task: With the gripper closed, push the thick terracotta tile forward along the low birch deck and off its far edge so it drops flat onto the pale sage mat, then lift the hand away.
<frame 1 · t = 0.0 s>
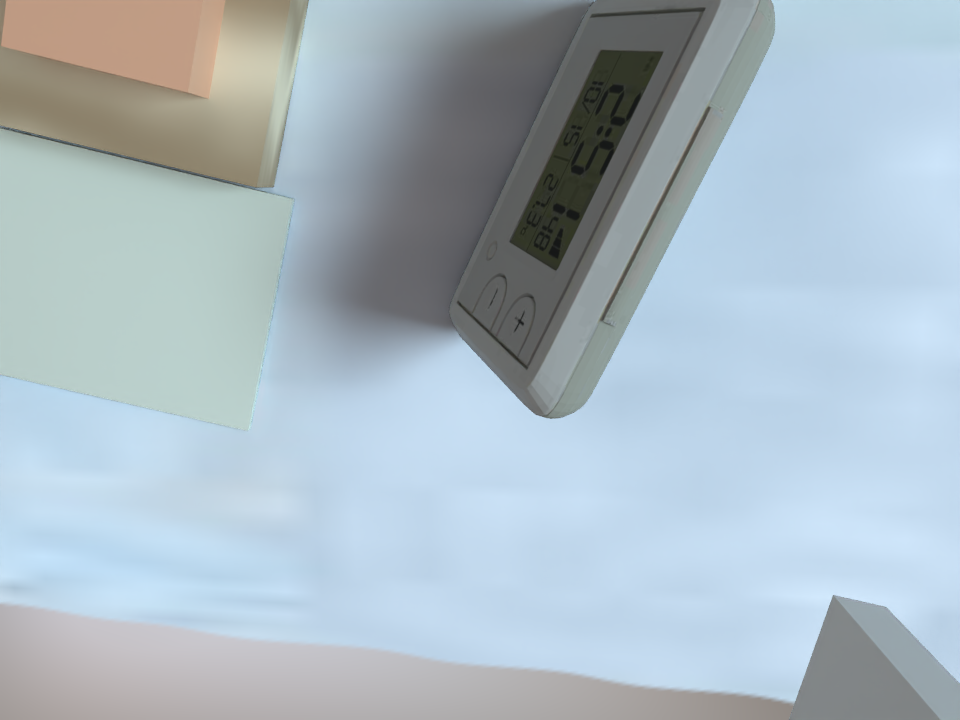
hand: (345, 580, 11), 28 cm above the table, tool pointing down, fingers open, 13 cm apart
digital clock: (571, 189, 38), on the table
sage mat: (121, 281, 39), on the table
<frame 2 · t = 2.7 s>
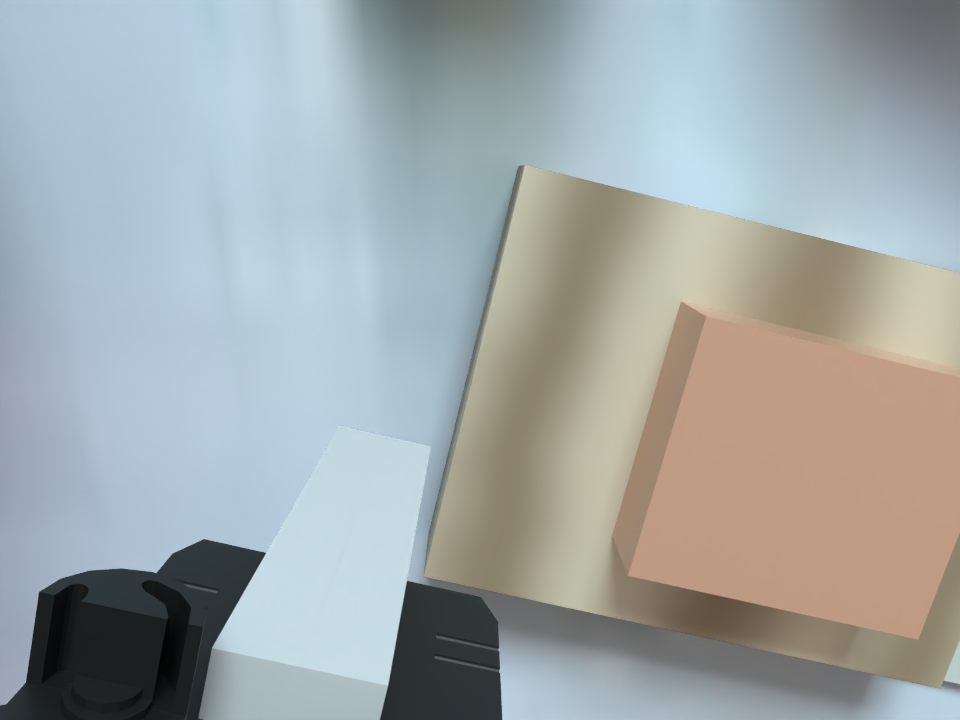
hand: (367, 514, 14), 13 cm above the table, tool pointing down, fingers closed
terracotta tile: (781, 453, 24), point 3 cm above the table, touching birch deck
birch deck: (717, 416, 27), on the table
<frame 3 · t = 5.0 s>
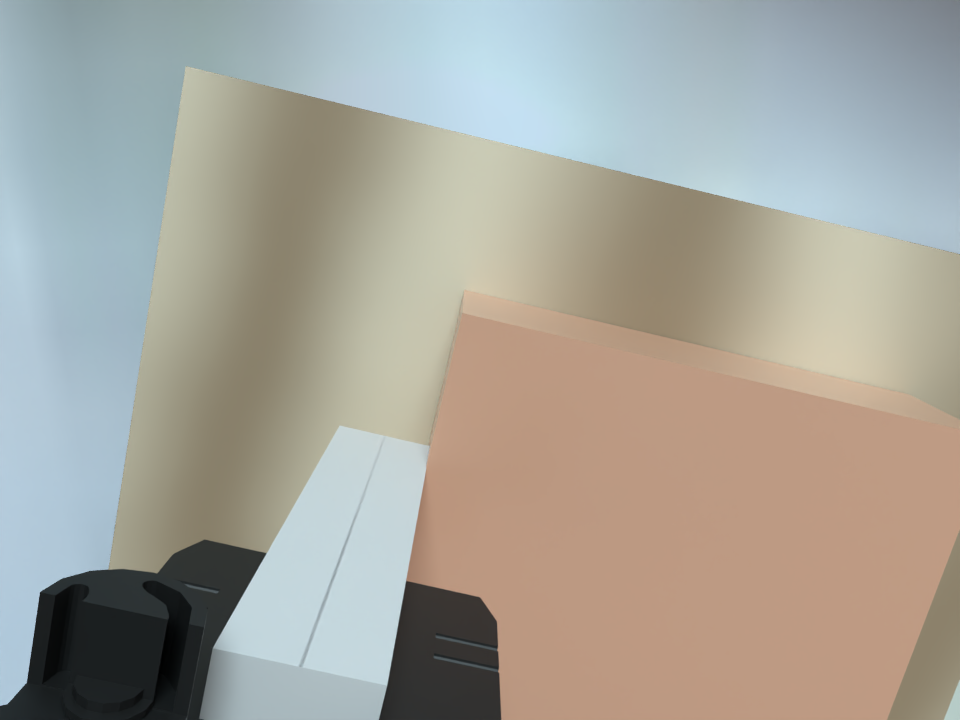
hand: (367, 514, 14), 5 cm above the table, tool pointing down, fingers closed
terracotta tile: (635, 527, 15), point 3 cm above the table, touching gripper
birch deck: (557, 458, 18), on the table
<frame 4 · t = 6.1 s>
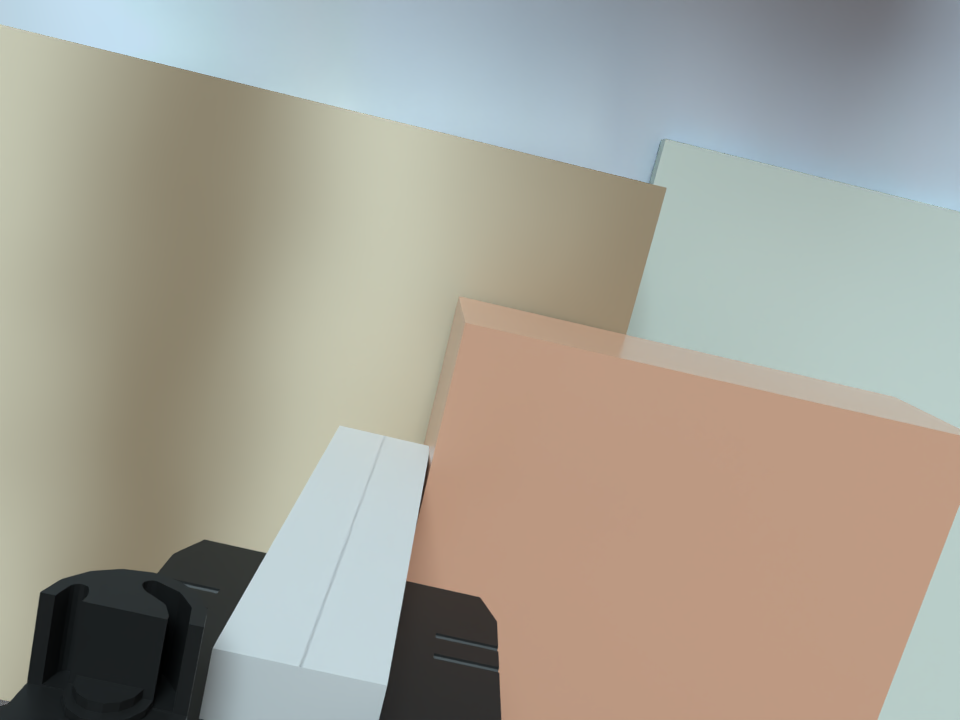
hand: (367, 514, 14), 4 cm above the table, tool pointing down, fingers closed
terracotta tile: (628, 531, 15), point 3 cm above the table, touching gripper
birch deck: (190, 380, 18), on the table
sage mat: (814, 520, 18), on the table
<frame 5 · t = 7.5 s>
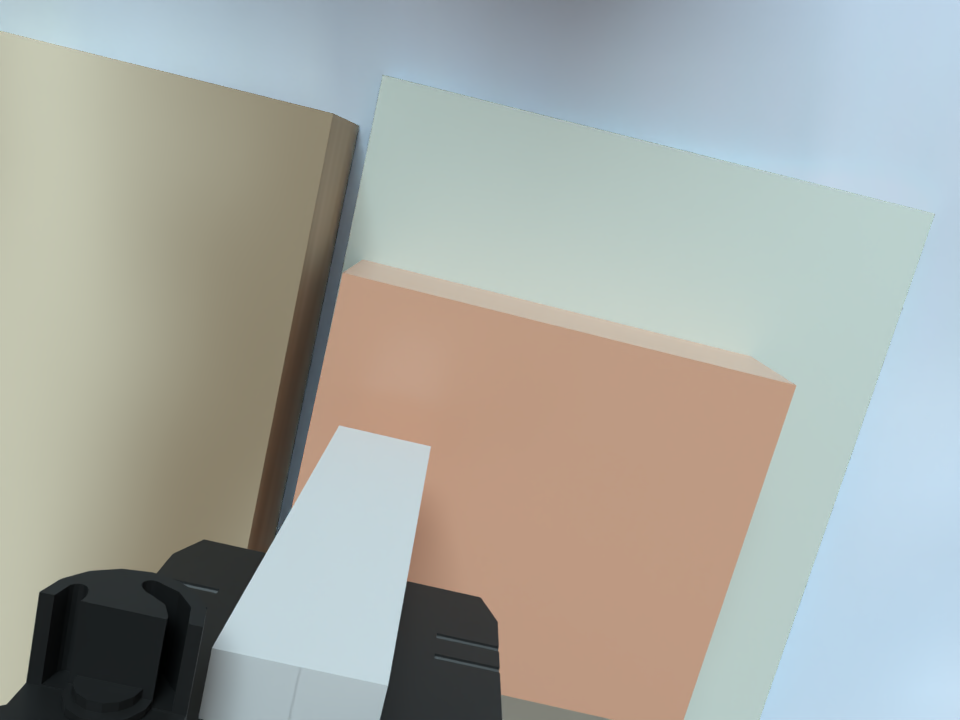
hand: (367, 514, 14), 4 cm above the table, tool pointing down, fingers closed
terracotta tile: (514, 470, 17), resting on sage mat
sage mat: (568, 476, 18), on the table
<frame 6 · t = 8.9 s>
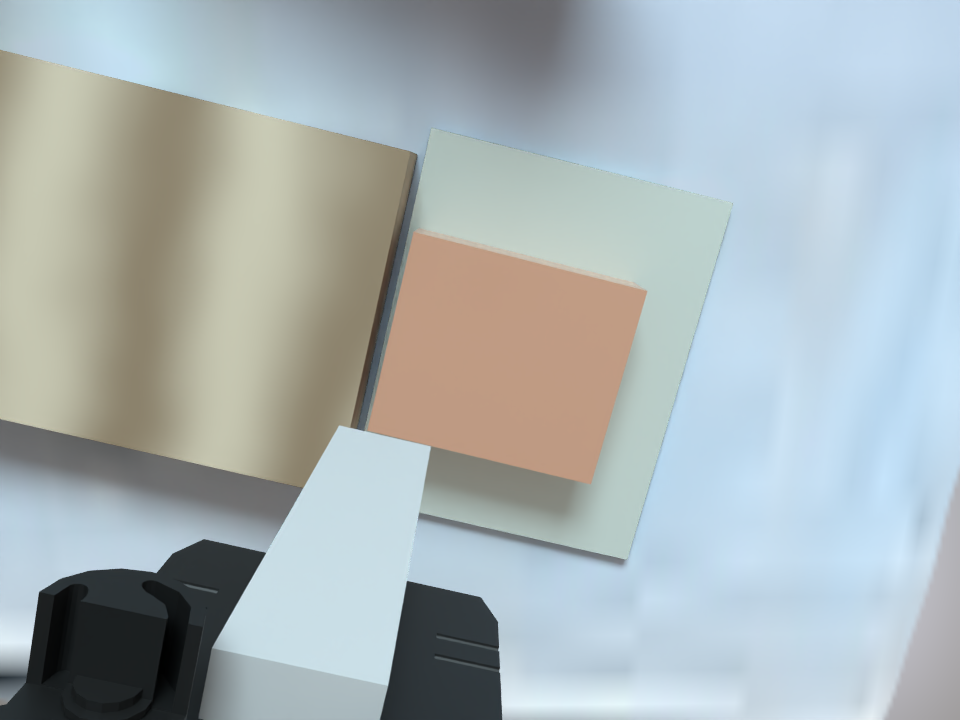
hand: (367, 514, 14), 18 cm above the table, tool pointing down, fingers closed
terracotta tile: (503, 348, 31), resting on sage mat
birch deck: (167, 266, 31), on the table
sage mat: (533, 353, 31), on the table
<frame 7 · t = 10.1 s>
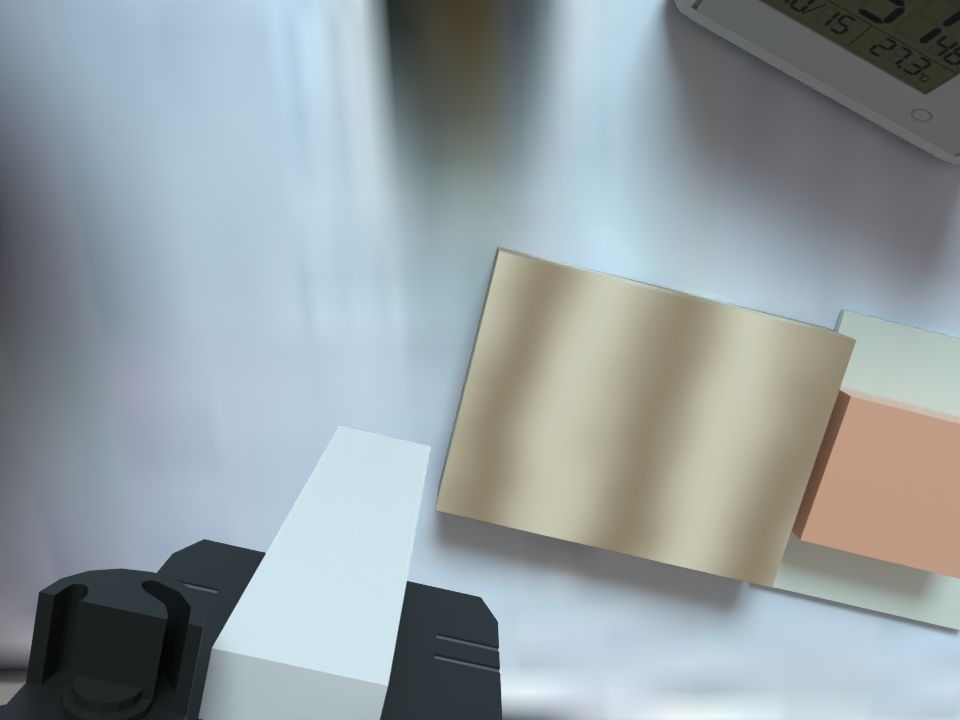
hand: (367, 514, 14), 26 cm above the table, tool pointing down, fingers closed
terracotta tile: (883, 471, 41), resting on sage mat
birch deck: (629, 409, 40), on the table
digital clock: (839, 33, 37), on the table
sage mat: (902, 474, 41), on the table
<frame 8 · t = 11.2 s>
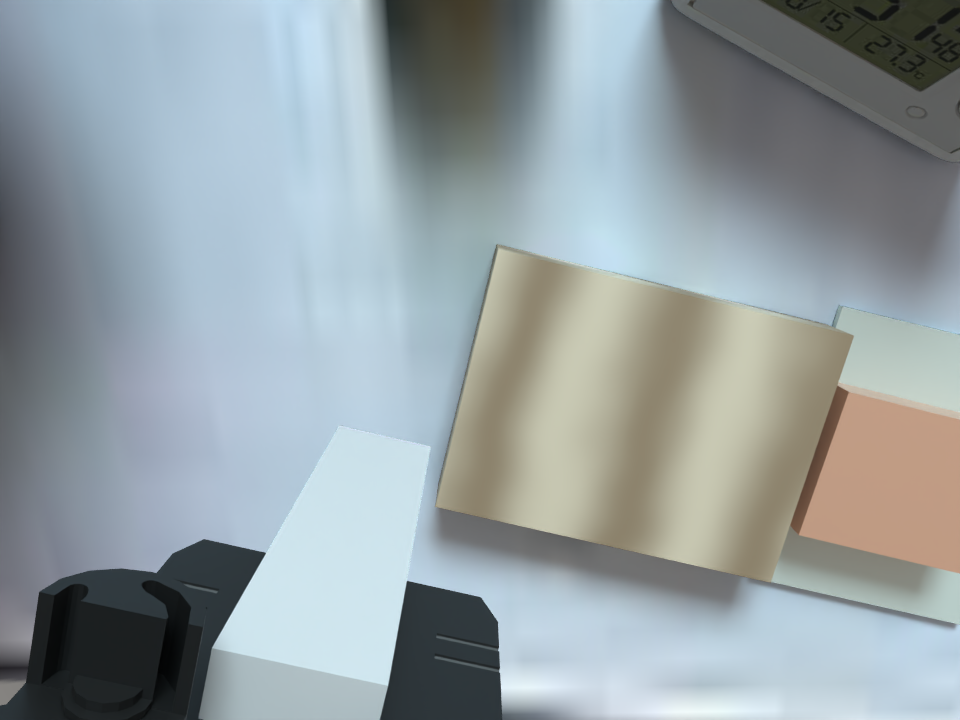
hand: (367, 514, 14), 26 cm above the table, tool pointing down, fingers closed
terracotta tile: (881, 467, 41), resting on sage mat
birch deck: (628, 405, 41), on the table
digital clock: (834, 31, 37), on the table
sage mat: (900, 469, 41), on the table
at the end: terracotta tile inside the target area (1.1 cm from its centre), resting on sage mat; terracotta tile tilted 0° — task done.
